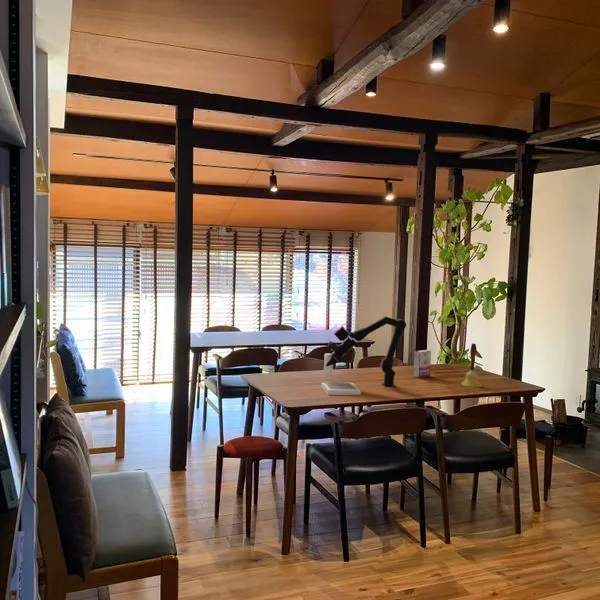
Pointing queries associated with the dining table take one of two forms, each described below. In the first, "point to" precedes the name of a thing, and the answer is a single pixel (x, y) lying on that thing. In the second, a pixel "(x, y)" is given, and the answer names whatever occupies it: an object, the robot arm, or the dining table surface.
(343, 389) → the base plate
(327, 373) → the cream vase
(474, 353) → the handbell
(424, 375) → the candy bar box
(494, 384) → the dining table surface
